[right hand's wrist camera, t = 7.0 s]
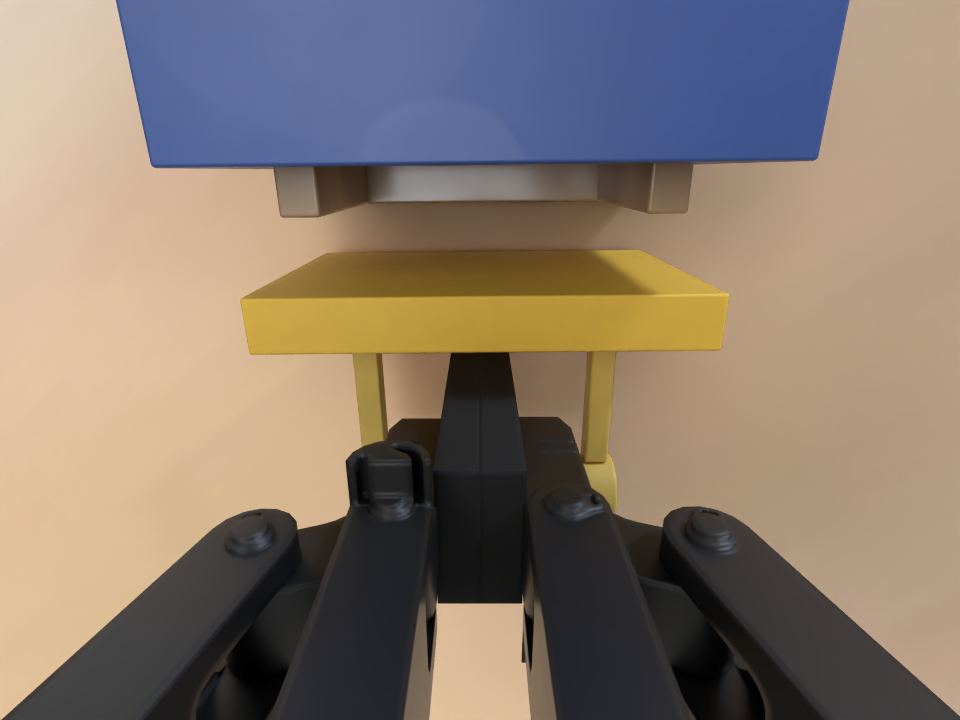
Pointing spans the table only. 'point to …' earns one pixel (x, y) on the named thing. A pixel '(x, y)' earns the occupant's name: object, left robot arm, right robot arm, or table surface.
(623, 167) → the drawer
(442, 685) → the table surface
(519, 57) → the cabinet
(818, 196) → the table surface
